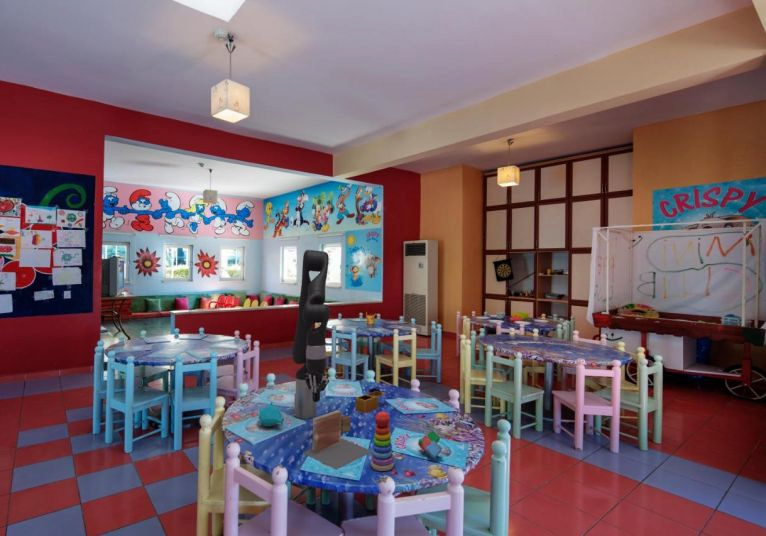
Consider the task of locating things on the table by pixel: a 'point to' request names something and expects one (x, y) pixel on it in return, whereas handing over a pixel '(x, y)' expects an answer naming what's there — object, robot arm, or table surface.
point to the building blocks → (430, 444)
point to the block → (345, 423)
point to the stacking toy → (382, 444)
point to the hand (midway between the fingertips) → (316, 401)
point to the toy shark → (270, 416)
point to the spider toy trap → (368, 401)
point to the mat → (339, 454)
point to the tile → (326, 431)
